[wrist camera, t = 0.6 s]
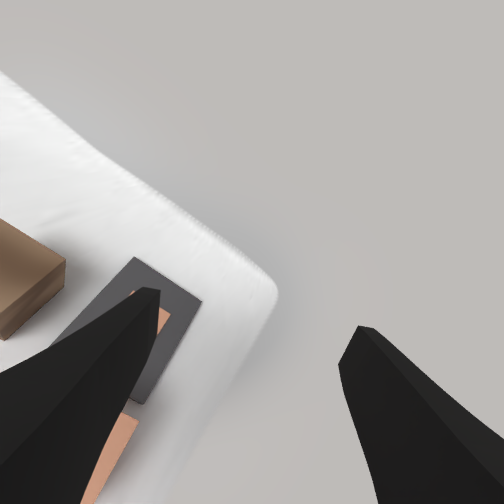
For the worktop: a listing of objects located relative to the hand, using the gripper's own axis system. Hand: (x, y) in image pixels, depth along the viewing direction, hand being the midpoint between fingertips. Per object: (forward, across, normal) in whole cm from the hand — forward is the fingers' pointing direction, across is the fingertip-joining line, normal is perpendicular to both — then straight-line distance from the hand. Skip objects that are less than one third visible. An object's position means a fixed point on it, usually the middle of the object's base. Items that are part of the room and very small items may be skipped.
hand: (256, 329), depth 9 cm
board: (+10, +8, +11) cm, 17 cm away
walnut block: (+8, +17, +8) cm, 21 cm away
